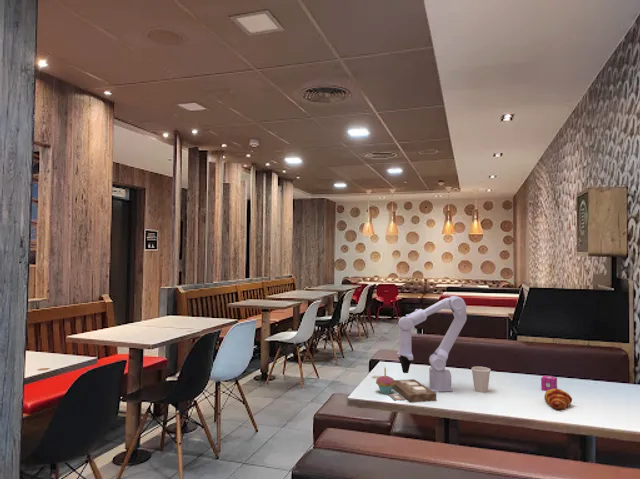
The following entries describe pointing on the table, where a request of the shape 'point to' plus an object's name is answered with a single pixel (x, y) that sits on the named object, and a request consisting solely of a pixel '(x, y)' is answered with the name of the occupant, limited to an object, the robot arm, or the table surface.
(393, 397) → the pattern card
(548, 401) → the croissant
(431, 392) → the button board
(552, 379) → the puzzle toy
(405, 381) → the button
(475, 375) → the dixie cup
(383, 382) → the cupcake
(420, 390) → the button
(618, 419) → the table surface
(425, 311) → the robot arm
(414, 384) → the button middle
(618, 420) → the table surface
